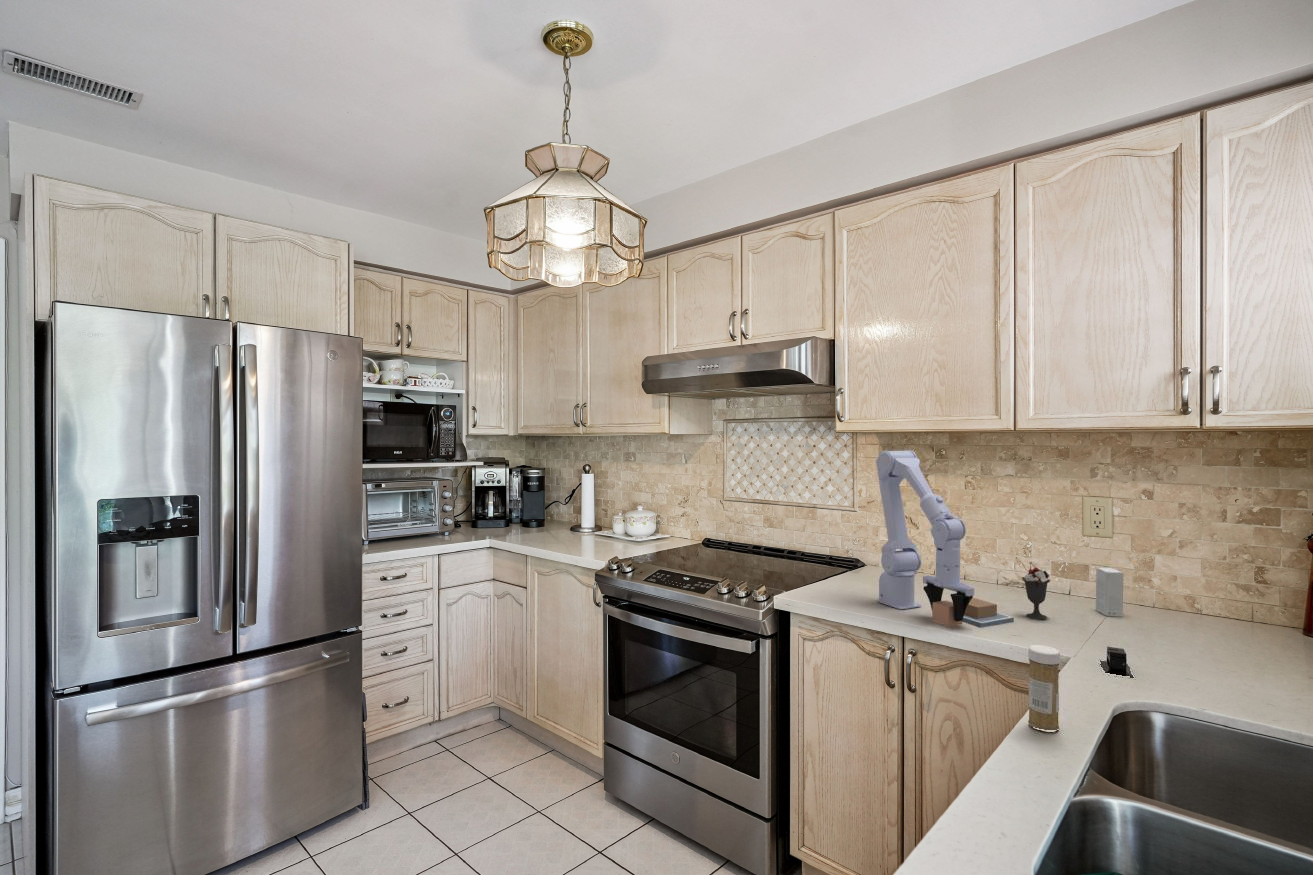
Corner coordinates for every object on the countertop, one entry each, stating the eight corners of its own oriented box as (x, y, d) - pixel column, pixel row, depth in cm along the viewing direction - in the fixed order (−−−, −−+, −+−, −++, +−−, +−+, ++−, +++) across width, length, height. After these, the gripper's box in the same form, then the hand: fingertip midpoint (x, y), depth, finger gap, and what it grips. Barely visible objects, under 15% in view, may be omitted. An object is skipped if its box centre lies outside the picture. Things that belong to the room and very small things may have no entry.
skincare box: (1123, 617, 169) (1124, 572, 169) (1105, 616, 170) (1106, 571, 170) (1112, 610, 175) (1112, 567, 175) (1094, 609, 176) (1095, 567, 176)
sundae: (1022, 618, 168) (1020, 562, 168) (1022, 611, 174) (1021, 557, 173) (1051, 622, 165) (1050, 564, 164) (1051, 614, 170) (1049, 559, 170)
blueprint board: (939, 613, 172) (939, 598, 172) (971, 608, 177) (971, 594, 177) (981, 627, 161) (981, 611, 160) (1013, 621, 165) (1013, 606, 165)
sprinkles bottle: (1065, 730, 106) (1066, 651, 106) (1047, 736, 104) (1048, 654, 104) (1039, 719, 110) (1040, 642, 110) (1021, 724, 108) (1022, 645, 108)
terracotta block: (932, 621, 166) (932, 602, 166) (946, 618, 168) (946, 600, 168) (948, 626, 161) (948, 607, 161) (962, 624, 163) (962, 605, 163)
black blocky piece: (1092, 658, 140) (1092, 638, 140) (1133, 665, 137) (1133, 644, 137) (1099, 678, 129) (1100, 656, 129) (1144, 685, 126) (1144, 663, 126)
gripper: (914, 560, 169) (914, 611, 170) (960, 572, 156) (959, 626, 156) (933, 558, 172) (933, 608, 172) (980, 569, 159) (979, 623, 159)
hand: (947, 616), depth 165 cm, fingers open, 6 cm apart
